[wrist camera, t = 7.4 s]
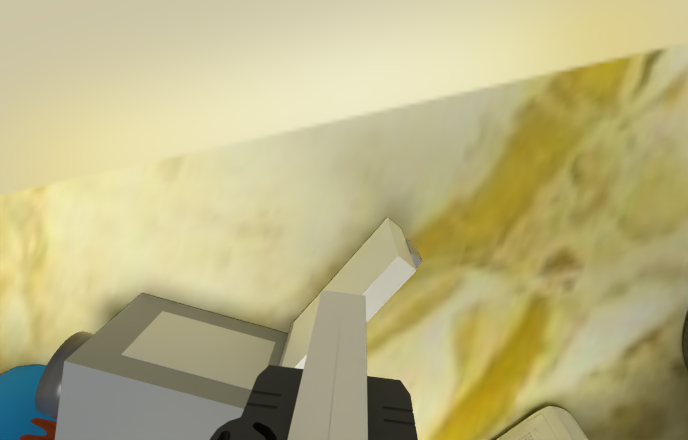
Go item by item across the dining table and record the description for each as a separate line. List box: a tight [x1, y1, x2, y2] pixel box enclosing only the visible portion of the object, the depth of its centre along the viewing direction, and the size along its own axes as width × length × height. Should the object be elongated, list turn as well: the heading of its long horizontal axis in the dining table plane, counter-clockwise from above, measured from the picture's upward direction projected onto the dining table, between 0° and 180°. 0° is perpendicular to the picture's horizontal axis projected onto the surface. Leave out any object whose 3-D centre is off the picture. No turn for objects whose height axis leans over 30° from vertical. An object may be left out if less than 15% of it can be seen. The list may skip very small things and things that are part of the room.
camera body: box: [35, 293, 288, 440], centre depth 26 cm, size 15×8×9 cm, turn 73°
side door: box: [279, 217, 423, 369], centre depth 24 cm, size 11×2×8 cm, turn 141°
